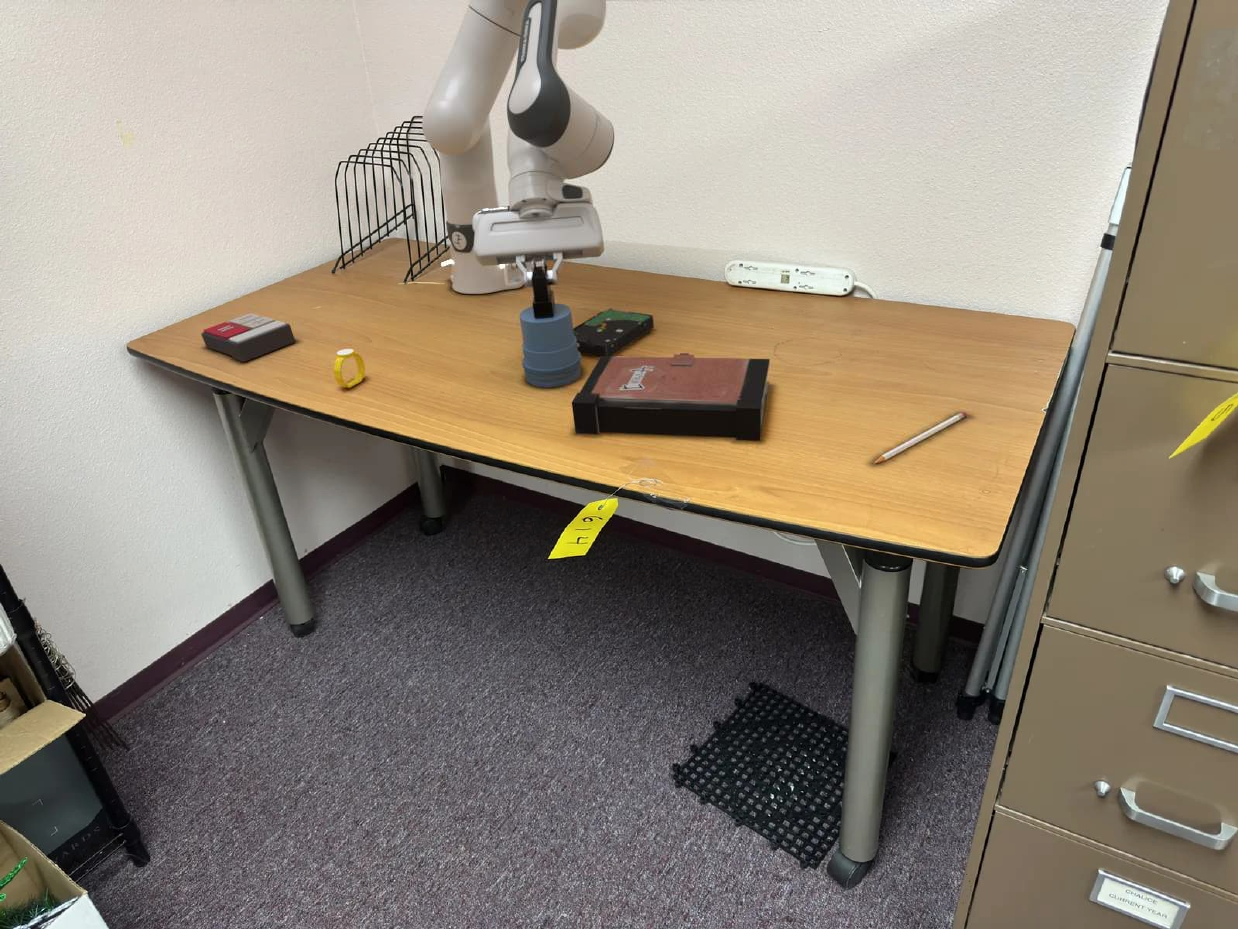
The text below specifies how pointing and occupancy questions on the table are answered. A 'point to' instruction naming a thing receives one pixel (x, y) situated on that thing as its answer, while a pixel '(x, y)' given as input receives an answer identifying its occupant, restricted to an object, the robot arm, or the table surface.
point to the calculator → (248, 336)
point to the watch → (338, 365)
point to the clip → (542, 291)
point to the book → (674, 397)
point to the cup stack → (550, 348)
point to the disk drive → (611, 332)
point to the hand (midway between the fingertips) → (541, 284)
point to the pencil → (920, 437)
